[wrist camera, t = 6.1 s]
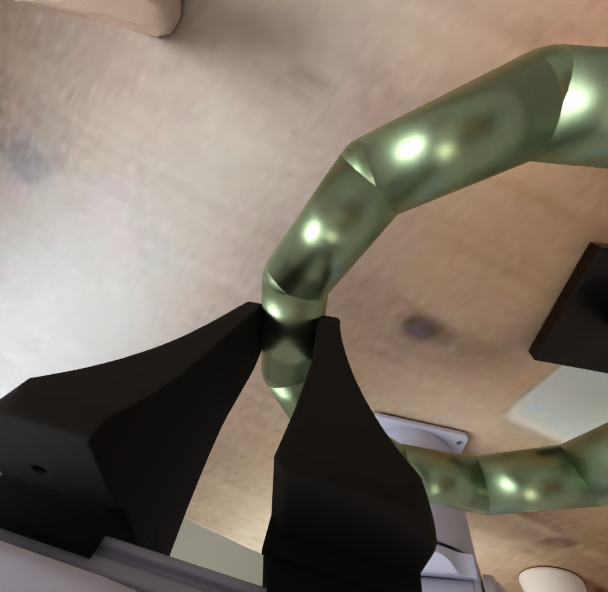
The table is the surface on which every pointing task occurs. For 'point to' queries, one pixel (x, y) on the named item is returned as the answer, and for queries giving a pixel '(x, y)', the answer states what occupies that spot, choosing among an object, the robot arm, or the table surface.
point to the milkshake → (123, 13)
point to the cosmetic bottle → (550, 580)
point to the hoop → (422, 189)
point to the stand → (579, 317)
